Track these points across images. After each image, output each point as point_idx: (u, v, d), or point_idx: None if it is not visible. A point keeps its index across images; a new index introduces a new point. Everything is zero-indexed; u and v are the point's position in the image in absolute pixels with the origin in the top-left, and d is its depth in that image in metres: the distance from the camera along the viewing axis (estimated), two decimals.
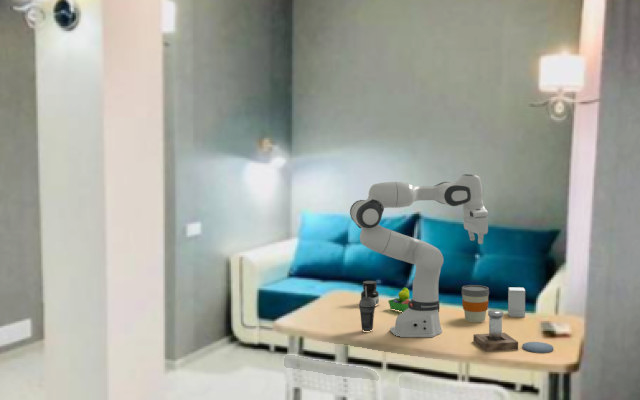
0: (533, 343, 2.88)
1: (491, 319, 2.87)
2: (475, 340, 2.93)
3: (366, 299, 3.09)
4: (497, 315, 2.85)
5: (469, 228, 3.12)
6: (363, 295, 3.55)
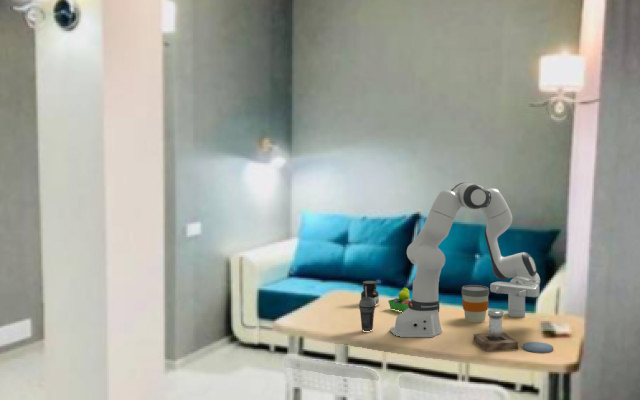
0: (533, 343, 2.88)
1: (491, 319, 2.87)
2: (475, 340, 2.93)
3: (366, 299, 3.09)
4: (497, 315, 2.85)
5: (507, 285, 3.03)
6: (363, 295, 3.55)
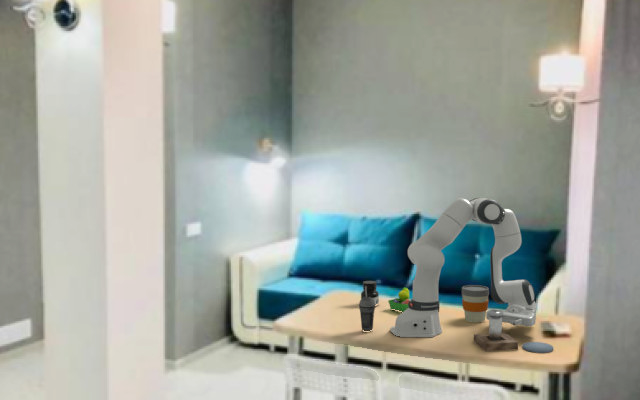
0: (533, 343, 2.88)
1: (491, 319, 2.87)
2: (475, 340, 2.93)
3: (366, 299, 3.09)
4: (497, 315, 2.85)
5: (503, 313, 3.01)
6: (363, 295, 3.55)
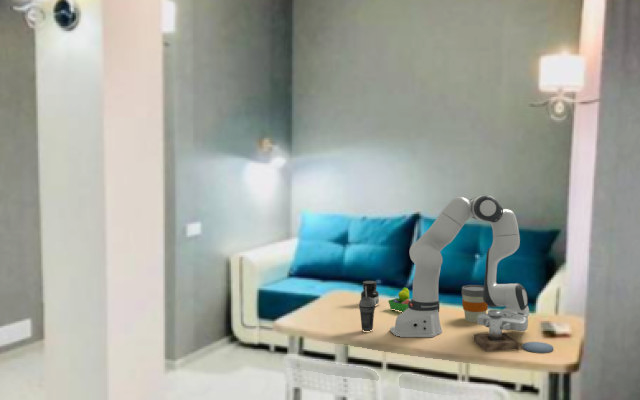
0: (533, 343, 2.88)
1: (491, 319, 2.87)
2: (475, 340, 2.93)
3: (366, 299, 3.09)
4: (497, 315, 2.85)
5: None
6: (363, 295, 3.55)
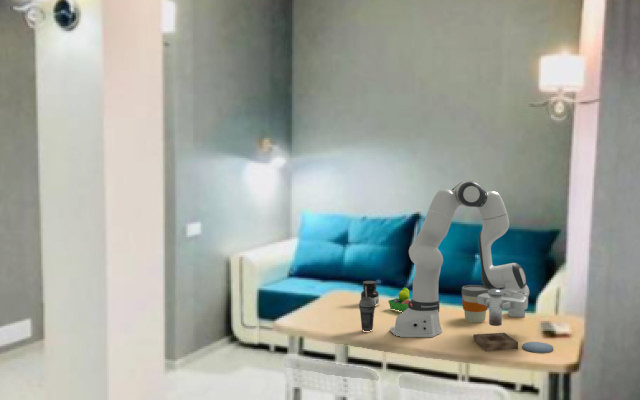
0: (533, 343, 2.88)
1: (491, 298, 2.86)
2: (475, 340, 2.93)
3: (366, 299, 3.09)
4: (497, 294, 2.84)
5: None
6: (363, 295, 3.55)
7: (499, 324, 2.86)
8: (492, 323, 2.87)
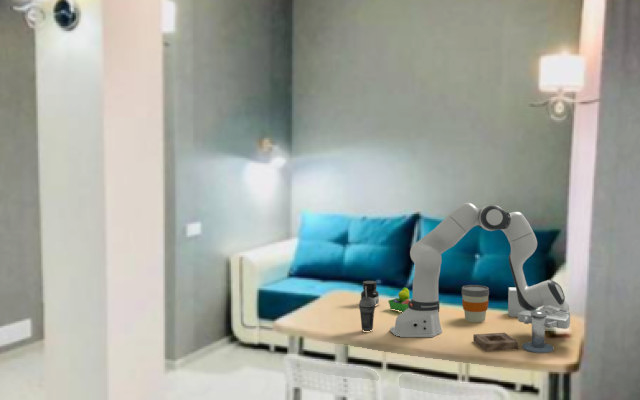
0: None
1: (534, 320, 2.82)
2: (475, 340, 2.93)
3: (366, 299, 3.09)
4: (541, 316, 2.80)
5: None
6: (363, 295, 3.55)
7: (542, 346, 2.82)
8: (534, 345, 2.83)
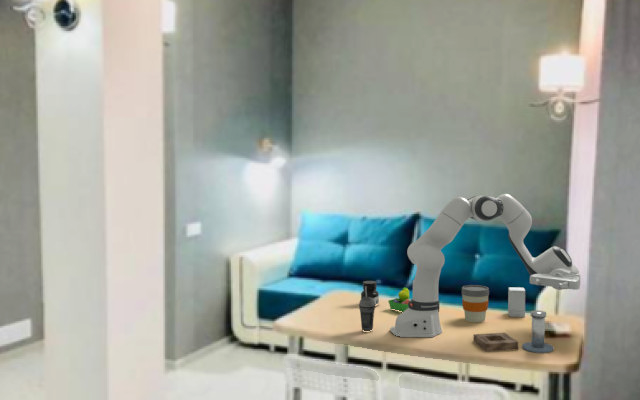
0: None
1: (534, 320, 2.82)
2: (475, 340, 2.93)
3: (366, 299, 3.09)
4: (541, 316, 2.80)
5: (548, 277, 2.98)
6: (363, 295, 3.55)
7: (542, 346, 2.82)
8: (534, 345, 2.83)
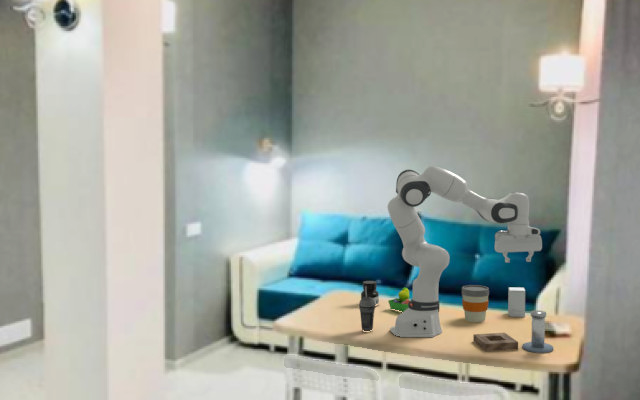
0: None
1: (534, 320, 2.82)
2: (475, 340, 2.93)
3: (366, 299, 3.09)
4: (541, 316, 2.80)
5: (514, 249, 3.01)
6: (363, 295, 3.55)
7: (542, 346, 2.82)
8: (534, 345, 2.83)
